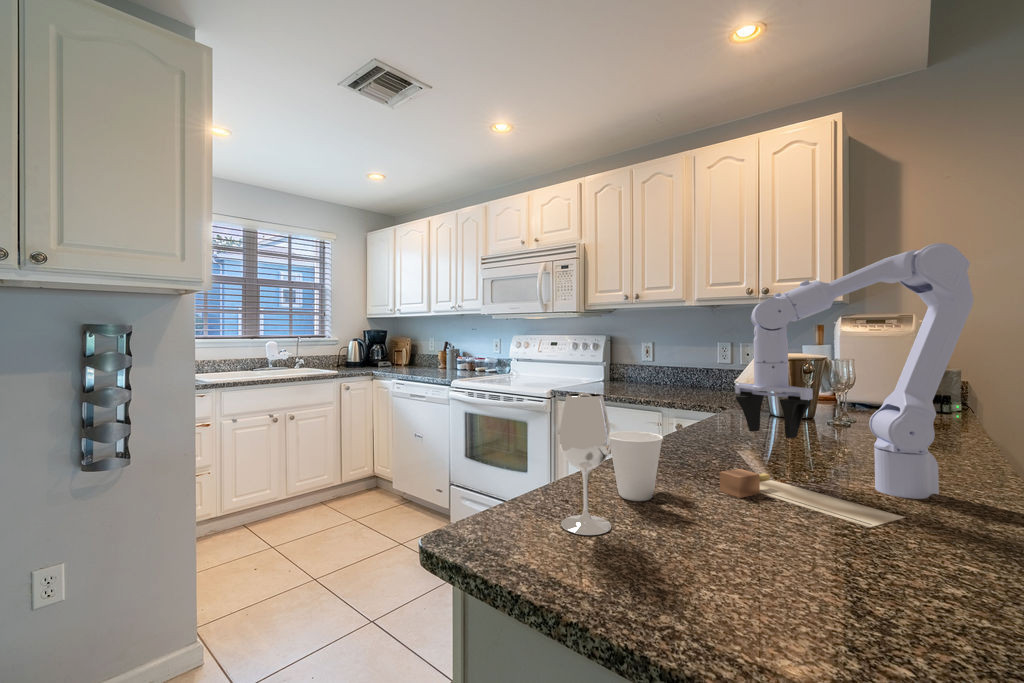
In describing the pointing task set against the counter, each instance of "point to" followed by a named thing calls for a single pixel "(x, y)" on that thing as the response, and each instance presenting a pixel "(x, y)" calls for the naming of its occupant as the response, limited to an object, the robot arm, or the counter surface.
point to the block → (741, 482)
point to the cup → (635, 463)
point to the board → (827, 504)
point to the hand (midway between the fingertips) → (772, 434)
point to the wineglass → (585, 451)
